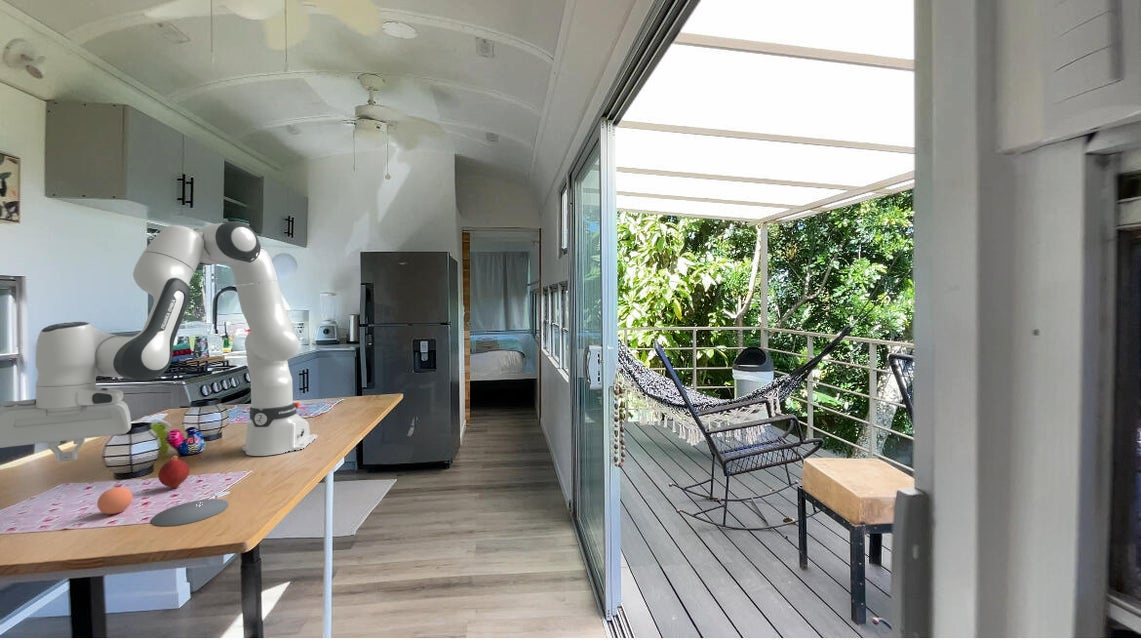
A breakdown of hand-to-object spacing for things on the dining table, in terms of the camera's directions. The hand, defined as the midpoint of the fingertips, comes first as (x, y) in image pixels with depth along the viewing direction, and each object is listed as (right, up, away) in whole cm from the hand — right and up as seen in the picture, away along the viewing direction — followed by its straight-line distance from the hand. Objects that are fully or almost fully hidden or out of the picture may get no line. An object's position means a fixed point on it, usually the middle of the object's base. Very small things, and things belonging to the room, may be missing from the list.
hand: (66, 460), depth 100 cm
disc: (+26, -12, +1) cm, 29 cm away
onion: (+11, -12, +15) cm, 22 cm away
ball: (+10, -9, +1) cm, 13 cm away
